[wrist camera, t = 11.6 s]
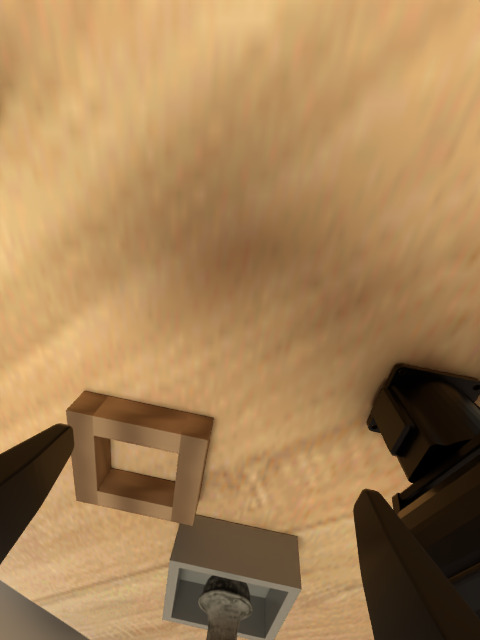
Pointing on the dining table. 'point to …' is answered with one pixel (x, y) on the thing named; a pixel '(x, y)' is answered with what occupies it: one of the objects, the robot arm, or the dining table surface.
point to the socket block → (146, 430)
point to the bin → (233, 573)
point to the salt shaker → (225, 606)
